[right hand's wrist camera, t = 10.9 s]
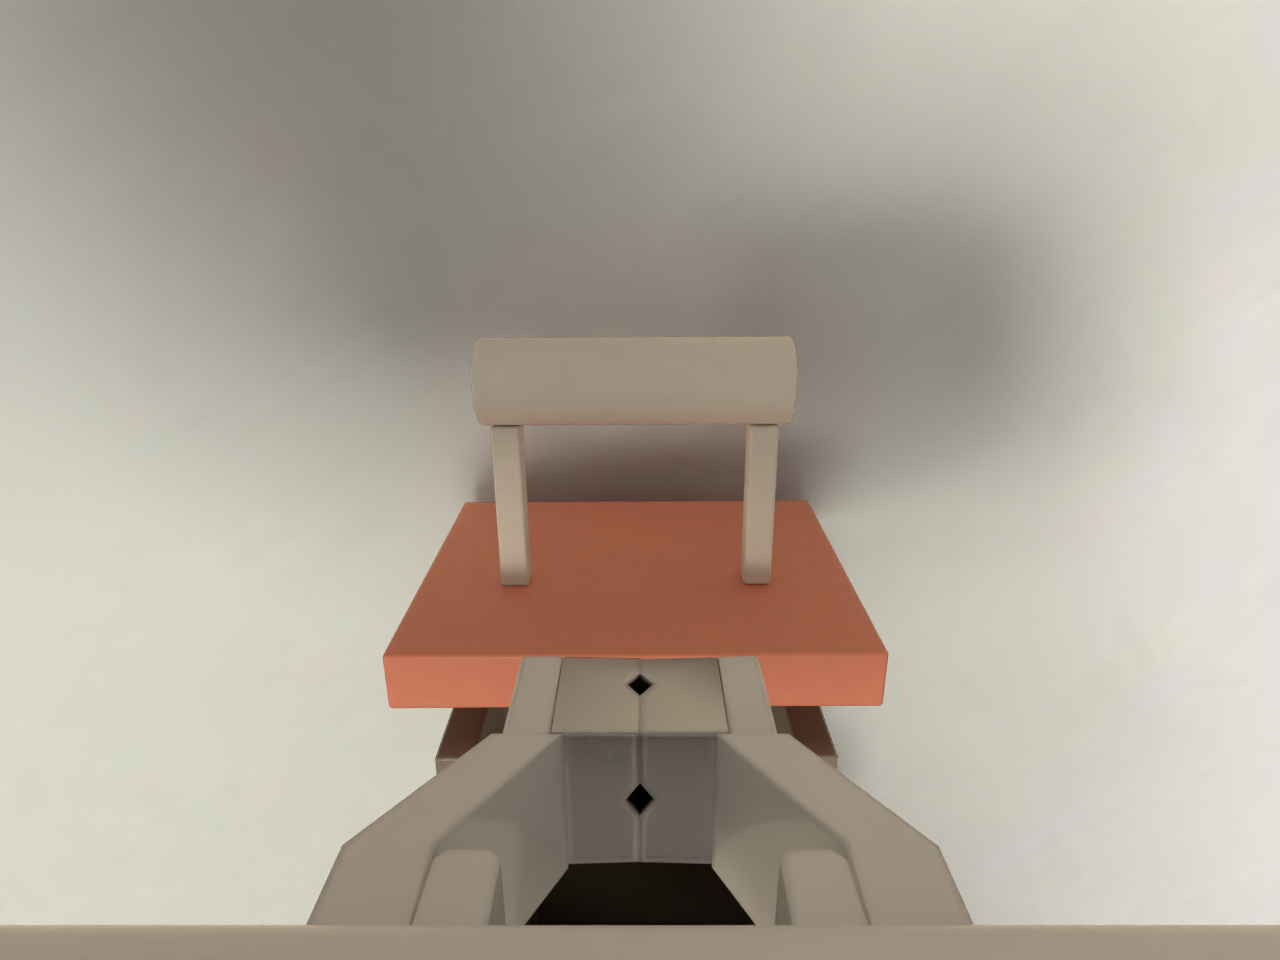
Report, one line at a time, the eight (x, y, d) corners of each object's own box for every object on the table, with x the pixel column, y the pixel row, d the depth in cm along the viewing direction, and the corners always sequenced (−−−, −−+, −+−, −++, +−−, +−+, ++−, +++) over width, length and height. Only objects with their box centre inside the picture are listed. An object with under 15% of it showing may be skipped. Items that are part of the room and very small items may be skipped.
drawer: (448, 304, 21) (343, 372, 13) (822, 302, 21) (923, 369, 13) (499, 912, 28) (450, 1175, 20) (778, 910, 28) (829, 1173, 20)
